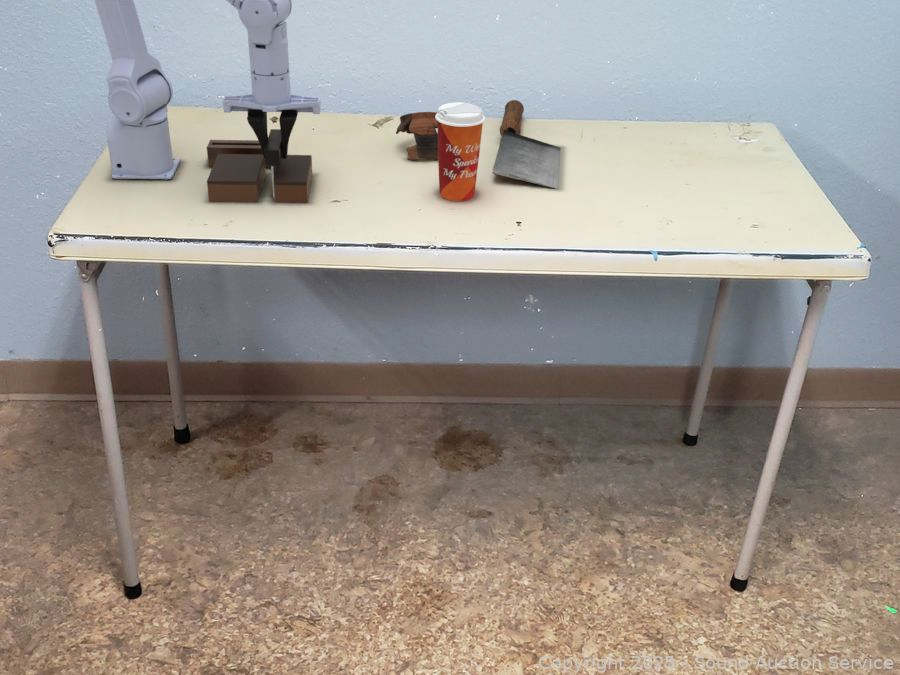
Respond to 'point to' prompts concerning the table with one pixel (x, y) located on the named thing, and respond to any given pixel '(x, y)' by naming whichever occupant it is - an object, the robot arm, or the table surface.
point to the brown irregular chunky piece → (421, 134)
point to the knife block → (232, 148)
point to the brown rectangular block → (293, 179)
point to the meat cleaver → (525, 152)
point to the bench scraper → (273, 152)
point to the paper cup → (458, 149)
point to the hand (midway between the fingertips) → (275, 156)
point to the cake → (236, 178)
